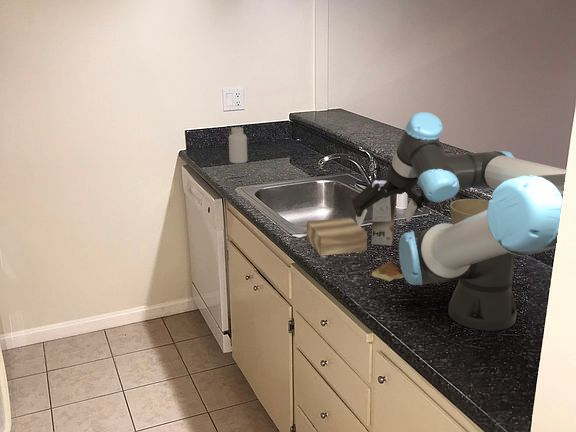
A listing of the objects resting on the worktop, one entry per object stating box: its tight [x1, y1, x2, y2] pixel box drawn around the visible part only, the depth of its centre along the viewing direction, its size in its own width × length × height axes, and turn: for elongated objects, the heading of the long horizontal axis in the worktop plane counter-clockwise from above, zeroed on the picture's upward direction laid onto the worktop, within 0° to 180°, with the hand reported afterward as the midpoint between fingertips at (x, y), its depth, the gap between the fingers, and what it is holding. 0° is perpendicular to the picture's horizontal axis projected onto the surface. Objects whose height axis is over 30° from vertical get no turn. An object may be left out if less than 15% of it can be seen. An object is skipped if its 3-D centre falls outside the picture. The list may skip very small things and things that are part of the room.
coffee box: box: [370, 188, 397, 246], centre depth 198 cm, size 9×6×16 cm
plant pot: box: [449, 198, 490, 225], centre depth 182 cm, size 15×15×16 cm
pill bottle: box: [228, 126, 248, 164], centre depth 290 cm, size 8×8×15 cm
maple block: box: [306, 217, 368, 256], centre depth 196 cm, size 14×14×6 cm
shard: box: [371, 259, 405, 282], centre depth 177 cm, size 11×8×2 cm
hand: (382, 219), depth 172 cm, fingers open, 13 cm apart
